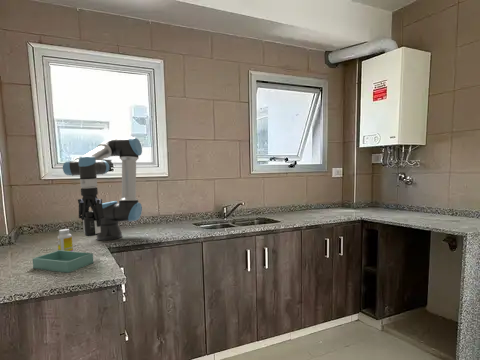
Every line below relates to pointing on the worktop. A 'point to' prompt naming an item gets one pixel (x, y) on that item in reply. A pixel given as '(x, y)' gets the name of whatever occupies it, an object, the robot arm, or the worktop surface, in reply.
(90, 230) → the supplement bottle
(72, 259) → the green tray
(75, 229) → the worktop surface
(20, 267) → the worktop surface
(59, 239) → the supplement bottle
